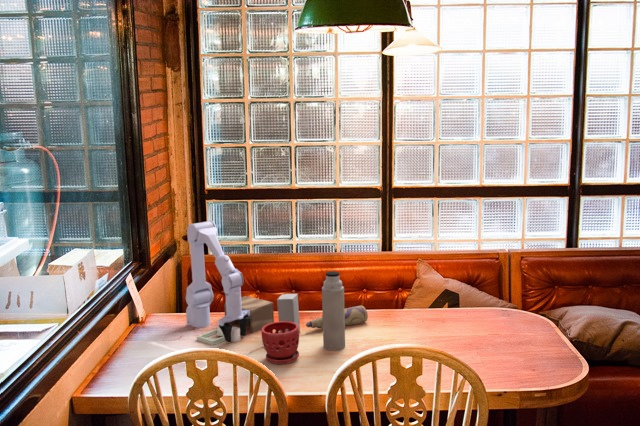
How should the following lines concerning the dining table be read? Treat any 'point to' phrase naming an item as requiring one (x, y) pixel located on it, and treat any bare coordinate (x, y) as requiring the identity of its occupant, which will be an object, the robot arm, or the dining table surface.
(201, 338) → the tray
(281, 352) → the plant pot
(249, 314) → the robot arm
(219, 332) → the pale pink rounded cylinder
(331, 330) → the thermos bottle
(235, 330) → the white rounded piece
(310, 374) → the dining table surface
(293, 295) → the skincare box
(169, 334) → the dining table surface
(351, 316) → the decorative bottle
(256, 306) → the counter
